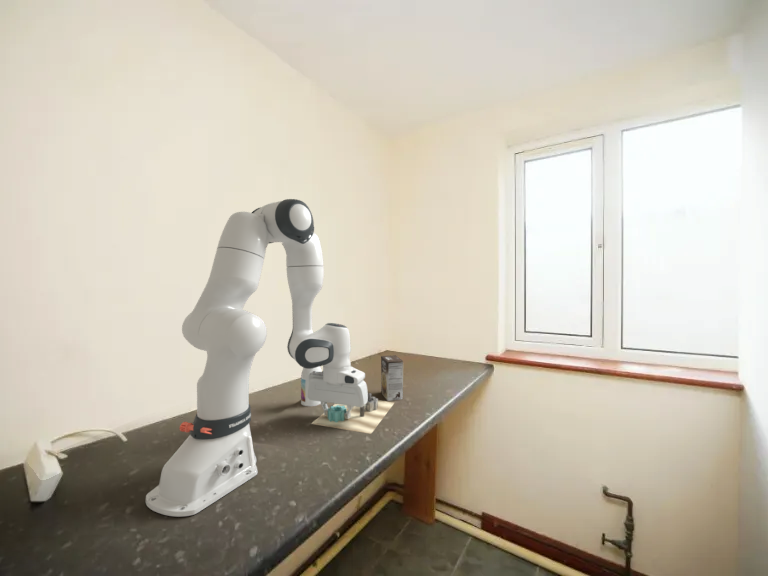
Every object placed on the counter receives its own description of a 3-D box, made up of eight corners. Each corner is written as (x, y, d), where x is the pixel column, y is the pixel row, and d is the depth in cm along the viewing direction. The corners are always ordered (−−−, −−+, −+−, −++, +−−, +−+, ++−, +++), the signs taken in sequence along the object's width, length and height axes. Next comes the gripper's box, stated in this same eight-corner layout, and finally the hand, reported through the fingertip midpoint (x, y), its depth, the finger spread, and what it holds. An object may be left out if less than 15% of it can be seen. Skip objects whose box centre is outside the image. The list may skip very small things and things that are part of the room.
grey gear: (376, 412, 101) (376, 403, 101) (359, 410, 102) (359, 402, 102) (379, 405, 107) (379, 396, 107) (363, 404, 108) (363, 395, 108)
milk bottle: (325, 402, 113) (325, 349, 113) (318, 410, 106) (318, 354, 105) (305, 401, 114) (305, 349, 114) (297, 409, 106) (297, 353, 106)
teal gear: (341, 423, 93) (341, 413, 93) (324, 420, 95) (324, 411, 95) (349, 415, 98) (349, 406, 98) (333, 413, 100) (333, 404, 100)
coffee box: (380, 396, 119) (380, 355, 119) (395, 394, 121) (395, 354, 121) (387, 405, 111) (387, 361, 110) (403, 403, 112) (403, 360, 112)
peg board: (371, 438, 86) (371, 416, 86) (310, 428, 93) (310, 407, 93) (394, 406, 109) (394, 388, 109) (345, 399, 116) (345, 383, 116)
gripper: (303, 373, 97) (303, 415, 97) (362, 379, 90) (362, 425, 90) (314, 368, 103) (314, 408, 103) (369, 373, 96) (369, 416, 96)
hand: (337, 416), depth 97 cm, fingers closed on teal gear, 6 cm apart
